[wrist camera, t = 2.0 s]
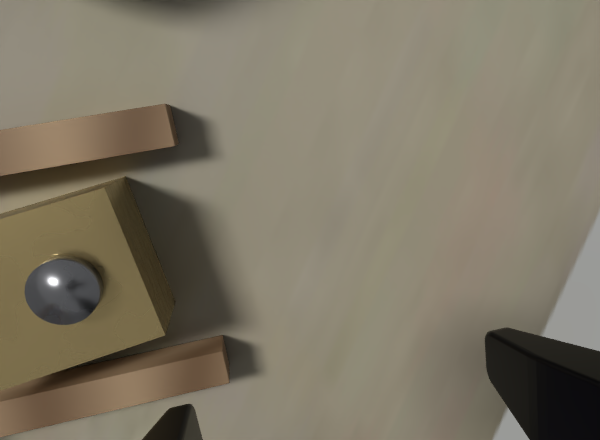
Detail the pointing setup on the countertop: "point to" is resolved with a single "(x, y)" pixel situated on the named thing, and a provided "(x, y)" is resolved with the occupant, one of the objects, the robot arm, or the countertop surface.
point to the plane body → (127, 370)
